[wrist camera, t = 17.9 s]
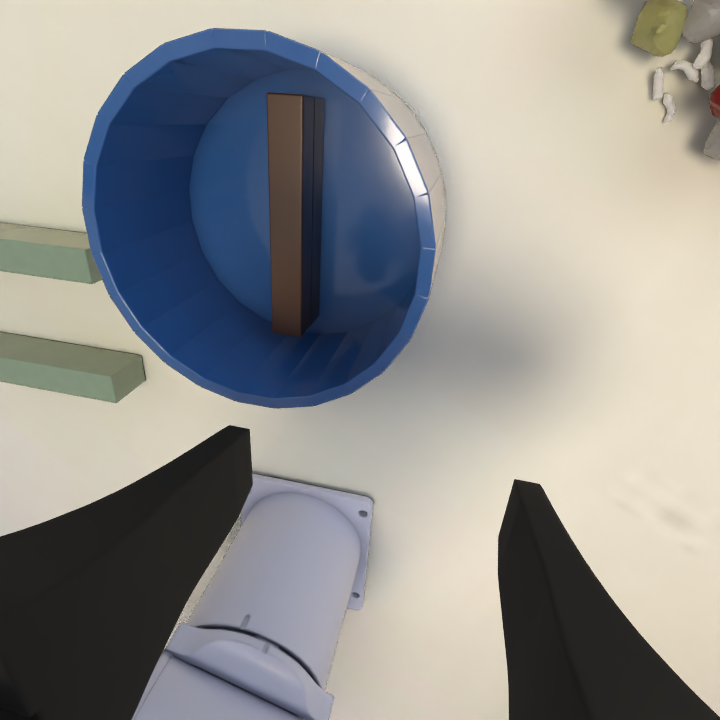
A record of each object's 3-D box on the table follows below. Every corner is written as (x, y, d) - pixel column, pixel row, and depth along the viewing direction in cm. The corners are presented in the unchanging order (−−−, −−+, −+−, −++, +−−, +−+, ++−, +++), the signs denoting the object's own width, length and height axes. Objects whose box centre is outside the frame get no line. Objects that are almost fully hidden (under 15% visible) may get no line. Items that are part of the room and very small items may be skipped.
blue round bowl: (426, 353, 22) (410, 433, 17) (200, 319, 24) (115, 380, 18) (468, 66, 17) (464, 39, 11) (174, 51, 19) (43, 20, 13)
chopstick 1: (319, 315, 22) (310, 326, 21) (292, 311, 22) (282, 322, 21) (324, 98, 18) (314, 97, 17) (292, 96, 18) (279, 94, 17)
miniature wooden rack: (145, 380, 27) (116, 403, 24) (-6, 353, 28) (-47, 373, 26) (122, 237, 23) (85, 249, 21) (-52, 215, 24) (-103, 225, 22)
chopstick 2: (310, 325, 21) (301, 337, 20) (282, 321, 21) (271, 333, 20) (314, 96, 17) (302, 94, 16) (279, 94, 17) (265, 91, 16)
